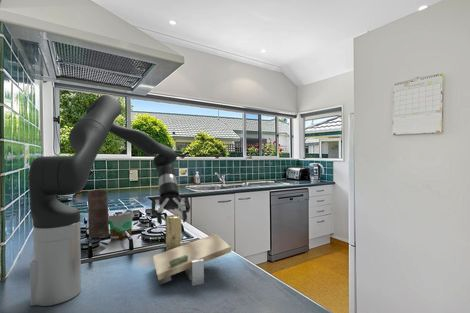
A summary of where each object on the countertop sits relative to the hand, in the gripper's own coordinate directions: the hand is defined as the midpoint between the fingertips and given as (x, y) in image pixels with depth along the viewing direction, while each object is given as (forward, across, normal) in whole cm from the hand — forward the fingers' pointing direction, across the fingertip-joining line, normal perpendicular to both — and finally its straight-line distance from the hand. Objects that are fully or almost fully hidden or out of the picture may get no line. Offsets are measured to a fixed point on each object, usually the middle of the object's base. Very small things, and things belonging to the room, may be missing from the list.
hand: (172, 222), depth 94 cm
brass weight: (+10, 0, -3) cm, 10 cm away
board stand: (+22, -2, +10) cm, 24 cm away
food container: (-7, +16, -20) cm, 27 cm away
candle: (-10, +26, -24) cm, 36 cm away
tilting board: (+20, -2, +12) cm, 23 cm away
